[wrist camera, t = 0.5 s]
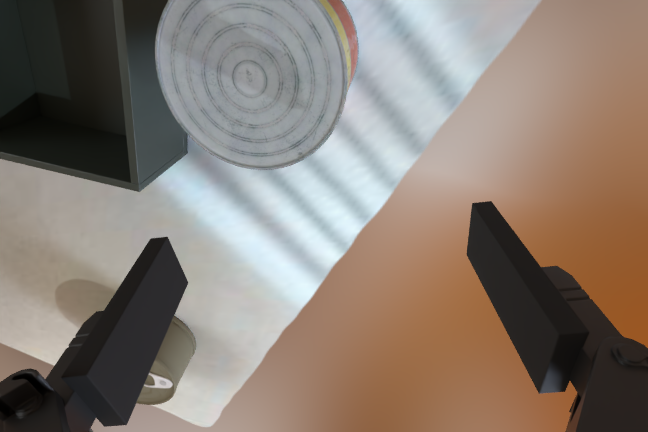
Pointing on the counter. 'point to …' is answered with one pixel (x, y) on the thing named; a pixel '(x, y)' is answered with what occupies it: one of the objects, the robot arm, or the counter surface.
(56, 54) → the open dark gray bin
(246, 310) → the counter surface
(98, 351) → the robot arm
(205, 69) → the canned food
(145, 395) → the can
